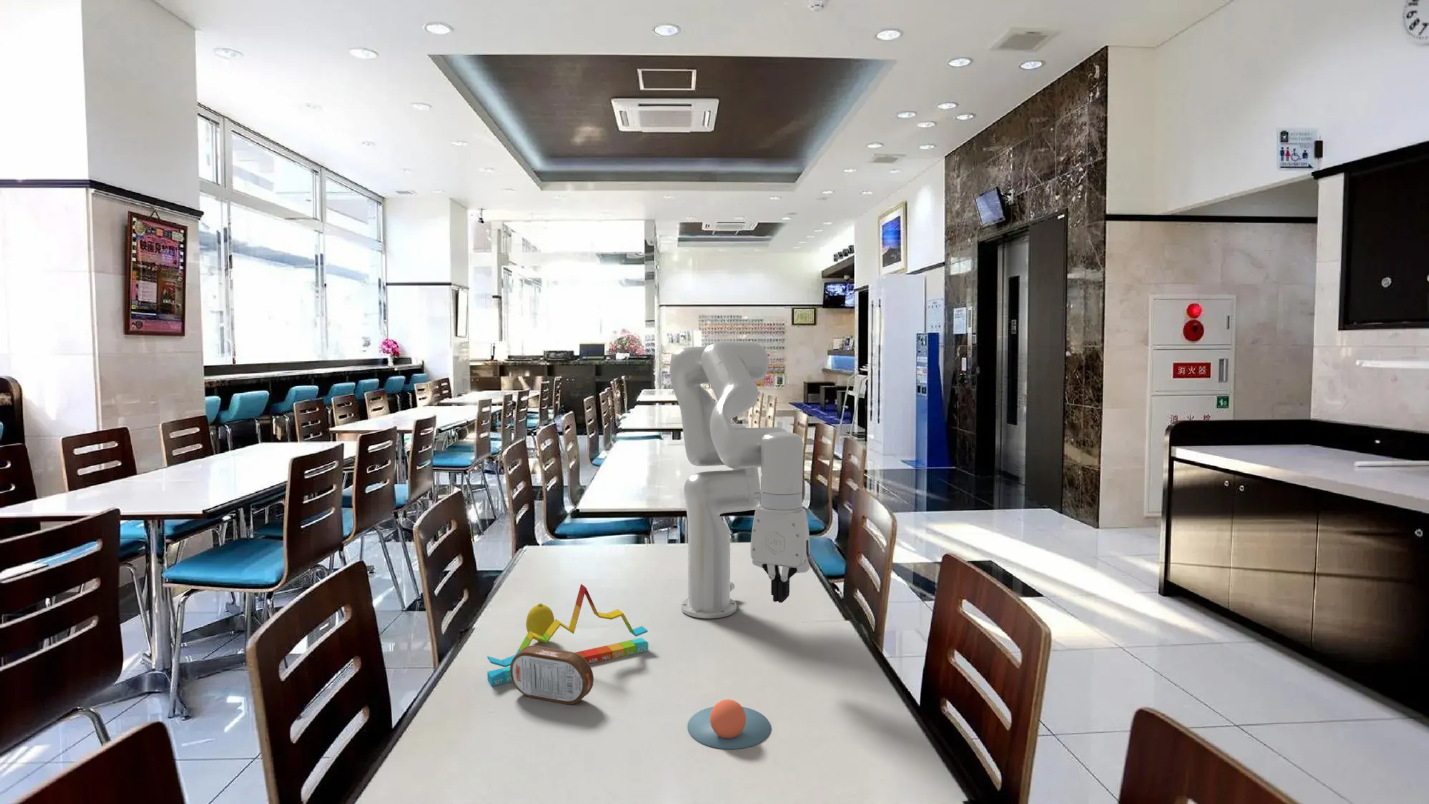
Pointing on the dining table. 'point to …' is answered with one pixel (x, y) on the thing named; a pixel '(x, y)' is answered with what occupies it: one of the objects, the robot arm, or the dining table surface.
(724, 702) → the ball
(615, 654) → the chart
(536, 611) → the lemon
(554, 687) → the tin
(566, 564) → the dining table surface
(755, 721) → the disc
